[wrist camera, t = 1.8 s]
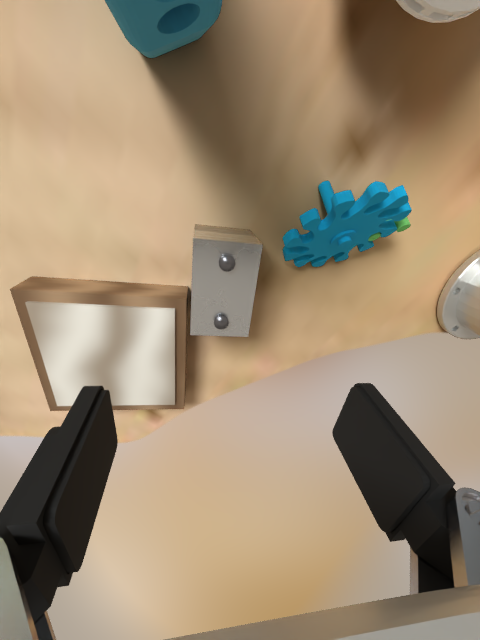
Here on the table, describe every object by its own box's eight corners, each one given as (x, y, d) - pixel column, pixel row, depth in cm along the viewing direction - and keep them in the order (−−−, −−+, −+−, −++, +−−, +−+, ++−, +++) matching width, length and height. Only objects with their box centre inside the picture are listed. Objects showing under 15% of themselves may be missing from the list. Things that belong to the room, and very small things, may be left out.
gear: (271, 278, 25) (317, 204, 15) (257, 225, 26) (291, 128, 17) (369, 265, 27) (463, 194, 17) (351, 217, 28) (429, 128, 19)
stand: (188, 286, 26) (186, 300, 23) (185, 390, 32) (183, 410, 29) (31, 276, 23) (7, 290, 20) (63, 390, 30) (48, 413, 27)
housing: (249, 229, 24) (263, 246, 18) (239, 306, 28) (248, 339, 22) (195, 224, 23) (193, 239, 17) (192, 304, 27) (189, 337, 21)
